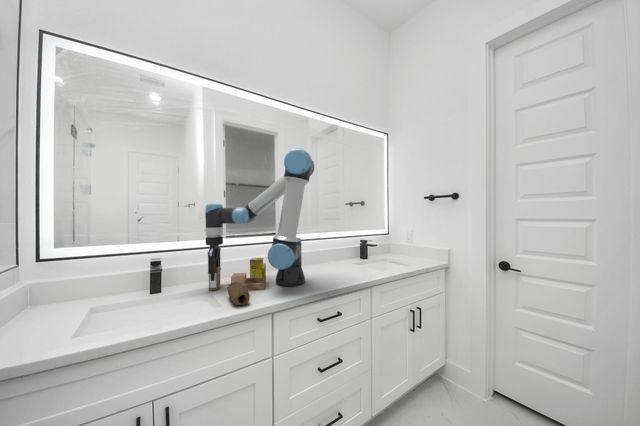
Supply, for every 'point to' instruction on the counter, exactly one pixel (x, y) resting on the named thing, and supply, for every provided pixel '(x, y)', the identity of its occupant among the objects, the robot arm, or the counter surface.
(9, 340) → the counter surface
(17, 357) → the counter surface
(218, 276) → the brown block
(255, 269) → the supplement box
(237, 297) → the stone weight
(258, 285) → the wooden stand
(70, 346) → the counter surface
